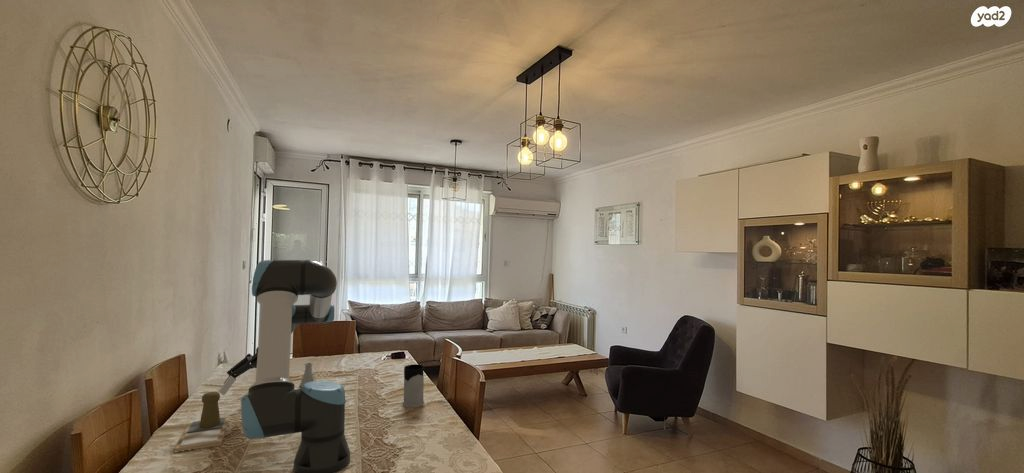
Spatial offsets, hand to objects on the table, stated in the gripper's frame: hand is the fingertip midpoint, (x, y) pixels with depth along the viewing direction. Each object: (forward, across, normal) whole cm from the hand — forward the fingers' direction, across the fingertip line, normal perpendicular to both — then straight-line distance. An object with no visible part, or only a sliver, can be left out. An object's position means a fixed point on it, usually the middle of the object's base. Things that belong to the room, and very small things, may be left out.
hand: (234, 395), depth 161 cm
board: (+16, +4, -4) cm, 16 cm away
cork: (+12, +1, -2) cm, 12 cm away
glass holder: (-22, +50, +34) cm, 64 cm away
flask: (-22, -5, +35) cm, 42 cm away
